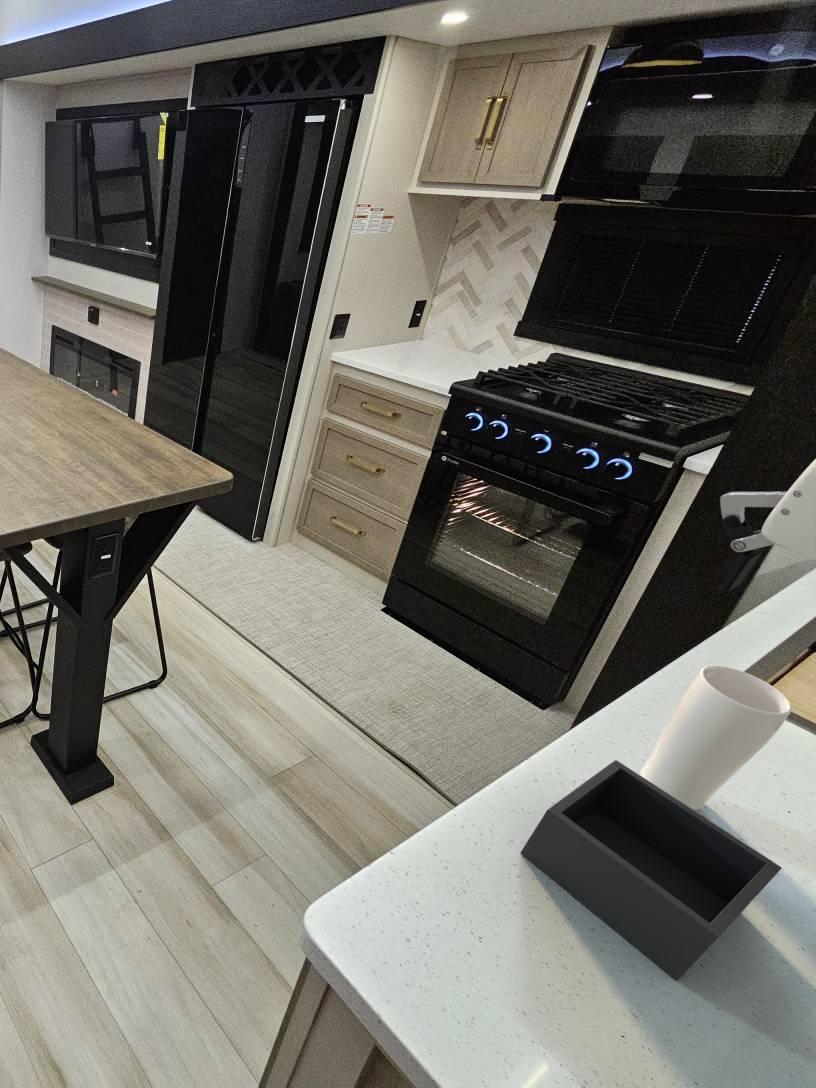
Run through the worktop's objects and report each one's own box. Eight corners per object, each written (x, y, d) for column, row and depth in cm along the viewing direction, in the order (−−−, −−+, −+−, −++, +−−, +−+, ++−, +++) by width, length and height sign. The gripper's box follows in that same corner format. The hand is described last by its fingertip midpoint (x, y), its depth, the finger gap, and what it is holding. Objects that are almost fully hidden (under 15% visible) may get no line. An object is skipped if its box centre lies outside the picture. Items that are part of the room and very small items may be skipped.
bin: (587, 802, 72) (615, 759, 69) (740, 911, 62) (782, 867, 59) (519, 853, 66) (547, 809, 63) (676, 981, 57) (718, 937, 54)
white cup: (633, 754, 78) (702, 654, 70) (712, 792, 73) (794, 690, 66) (624, 789, 73) (696, 687, 66) (708, 831, 69) (794, 727, 62)
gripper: (1122, 483, 48) (953, 663, 57) (795, 400, 62) (696, 556, 70) (1102, 504, 45) (926, 693, 53) (761, 412, 58) (662, 574, 67)
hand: (796, 615), depth 62 cm, fingers open, 9 cm apart
